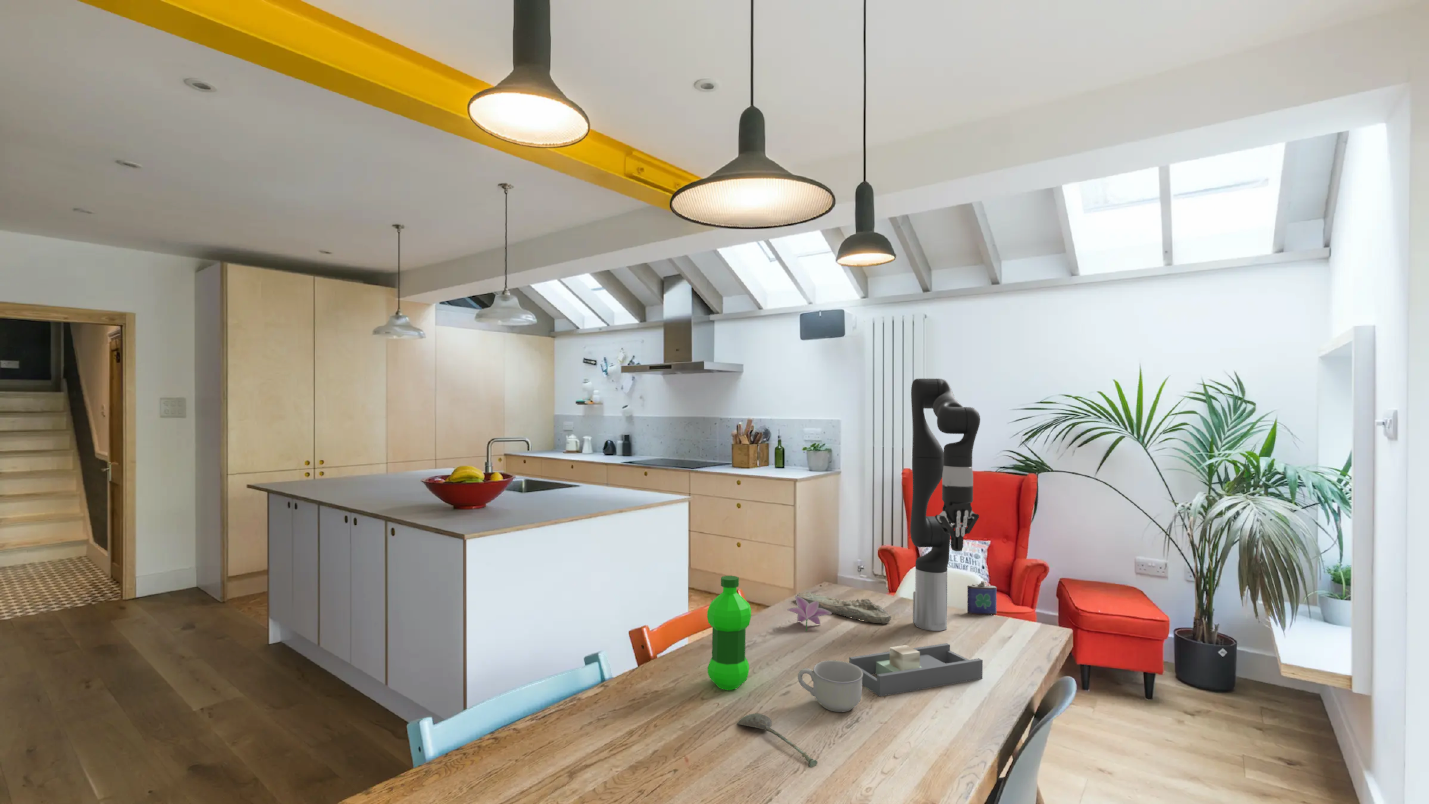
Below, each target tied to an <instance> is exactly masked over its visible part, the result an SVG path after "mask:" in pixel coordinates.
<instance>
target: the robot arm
mask: <svg viewBox="0 0 1429 804" xmlns="http://www.w3.org/2000/svg"><path fill="white" fill-rule="evenodd" d="M910 388H911V391H910V398H911V399H910V402H911V417H912V453H911V454H912V456H911V457H912V458H911V460H912V461H911V465H912V467H911V469H912V499H911V500H912V501H911V514H910V523H909V525H910V530H909V532H910V539H911V542H912V544H913V545H914V546H915V547H917V548H931V549H930V551H929V552H927V553H926V554H923V555H920V556H919V557H917V558H916V559H915V583H914V584H915V585H914V586H915V587H914V589H915V590H914V591H913V593H912V623H913V624H914V625H915V626H916V627H917V628H919V629H921V630H926V631H931V632H939V631H941V632H943V631H945V630H946V629H947V627H948V626H947V625H948V566H949V565H948V564H949V562H950V548H951V550H952V551H954V552H962V551H963V548H964V537H965V535H967V534H969V535H970V533H971V532H972V530H973V528H974V526H975V525H976V523H977V521H978V520H979V518H980V515H979V514H977V513H975V512H974V511H973V507H972V505H971V504H972V503H973V501H974V471H973V451H974V450H973V449H974V445H975V441H976V437H977V434H978V432H979V428H980V424H981V415H980V413H979V411H978V410H977V409H976V408H975V407H971V406H963V404H961V403H960V402H959V401H958V400H957V399H956V398H955V395H954V393H953V390H952V388H951V386H950V383H949V382H948V381H947V380H945V379H943V378H915V379H914V380H913V381H912V383H911V387H910ZM924 409H926V410H927V409H932V410H933V413H934V415H935V417H936V425H937V428H938V430H939V431H940V432H941V433H944V434H948V435H952V434H953V435H954V434H955V435H962V438H961V439H960V440H959V441H956V442H949V443H946V444H945V445H944V447H943V448H942V445H941V444H940V442H939V440H938V439H937V437H936V436H935V435H934V433H933V431H932V430H931V428H930V427H929V424H928V423H927V419H926V417H925V413H924V412H925V411H924ZM940 483H941V499H942V502H943V506H942V508H941V509H942V511H941V512H940V513H939V514H935V515H933V516H929V515H927V510H928V505H929V502H930V500H931V498H932V496H933V493H934V492H935V490H936V489H937V487H938V486H939V484H940Z"/></svg>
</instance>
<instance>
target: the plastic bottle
mask: <svg viewBox="0 0 1429 804" xmlns="http://www.w3.org/2000/svg"><path fill="white" fill-rule="evenodd" d="M720 586H721V587H722V592H721V593H720V594H718V595H717V596H716V597H715V598H714V599H713V600H712V601H711V602H710V603H709V606H708V608H707V611H706V613H707V616H706V617H707V623H708V624H709V625H710V626H711V627H712V634H711V635H712V641H711V642H712V643H711V645H712V646H711V658H710V659H709V660H710V661H709V662H708V666H707V675H708V677H709V679H710V681H711V682H713V683H714V684H715V685H716V686H717V688H719V689H720V690H724V689H725V691H734V690H736V689H738V688H739V687H740V686H742V685H743V684H744V683H745V682H746V681H747V678H748V676H749V674H750V673H749V671H750V664H749V661H748V659H747V656H746V637H747V636H746V635H747V634H746V630H747V627H749V626H750V623H751V618H752V607H751V605H750V603H749V602H748V601H747V600H746V599H745V598H744V597H743V596H742V595H740V594H739V593H738V592H737V588H738V587H739V586H740V578H739V576H736V575H723V576H721V577H720ZM733 689H734V690H733Z"/></svg>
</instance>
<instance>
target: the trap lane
mask: <svg viewBox="0 0 1429 804" xmlns="http://www.w3.org/2000/svg"><path fill="white" fill-rule="evenodd" d="M912 648H913V649H915V650H917V651H919V652H920V668H915V669H909V670H902V671H901V670H899V669H897V668H896V667H894V666H892V665H891V664H890V651H883V652H875V653H870V654H863V655H858V656H856V655H855V656H849V657H848V663H851V664H853V665H855V666H857V667H859V668H860V669H861V670H862V672H863V677H862V687H865V688H866V689H868V690H870V691H871V692H872V693H874V694H875V695H877V696H879V697H884V696H886V697H887V696H890V695H898V694H903V693H907V692H914V691H920V690H926V689H930V688H937V687H942V686H947V685H954V684H961V683H964V682H970V681H976V680H982V679H983V666H984V665H983V659H981V658H978V657H977V658H972V659H969V658H966V657H964V656H962V655H961V654H958V653H955V652H954V651H952V650H951V644H949V643H938V644H931V645H925V646H919V647H912ZM874 675H876V677H875V676H874Z"/></svg>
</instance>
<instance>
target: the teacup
mask: <svg viewBox="0 0 1429 804" xmlns="http://www.w3.org/2000/svg"><path fill="white" fill-rule="evenodd" d="M812 669H813V670H812ZM812 669H810V668H809V667H804V668H801V669H800V670H799V671H798V673H797V680H798V683H799V684H800V686H801V687H802V688H803V689H805V690H806V691H807V692H809V693H810V694H811V696H812V697H814V698H815V700H816V701H817V702H818V704H820V705H821V706H822V707H823V708H825V710H828V711H831V712H835V713H844V712H845V713H846V712H849V711H851V710H852V709H853V708H855V707H857V706H858V705H859V703H860V702H861V699H862V692H863V691H862V690H863V685H862V677H863V672H862V670H861V669H860V668H859V667H857V666H855V665H853V664H851V663H849V661H848V662H847V661H843V660H836V659H835V660H822V661H820V662H817V663H816V664H815V665H814V666H813V668H812ZM805 674H808V675H809V676H810V678H811V681H812V682H813V683H812V686H810V685H809V684H807V683H806V682H805V680H803V676H804V675H805Z"/></svg>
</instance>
